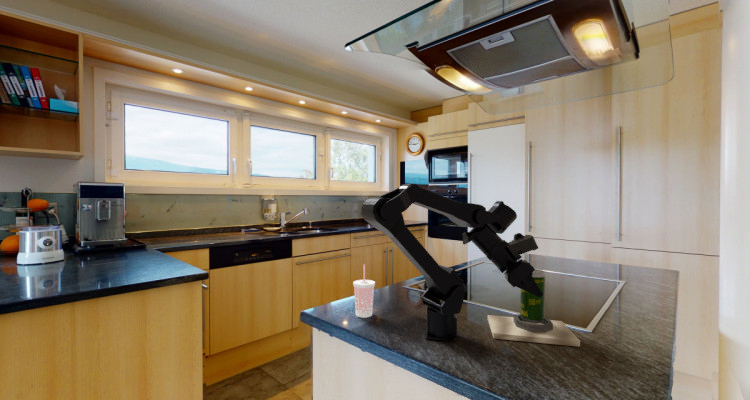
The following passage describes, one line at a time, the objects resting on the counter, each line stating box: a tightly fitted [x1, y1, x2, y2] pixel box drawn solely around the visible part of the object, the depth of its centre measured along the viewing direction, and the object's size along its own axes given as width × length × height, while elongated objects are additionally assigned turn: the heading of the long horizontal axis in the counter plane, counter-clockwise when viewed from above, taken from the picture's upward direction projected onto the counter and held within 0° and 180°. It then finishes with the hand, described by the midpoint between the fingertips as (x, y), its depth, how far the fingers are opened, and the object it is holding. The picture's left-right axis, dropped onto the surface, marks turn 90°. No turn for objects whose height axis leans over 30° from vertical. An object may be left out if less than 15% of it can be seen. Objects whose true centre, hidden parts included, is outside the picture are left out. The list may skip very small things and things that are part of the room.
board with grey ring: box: [487, 313, 581, 347], centre depth 79 cm, size 18×12×3 cm, turn 77°
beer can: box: [519, 268, 546, 323], centre depth 80 cm, size 5×5×12 cm
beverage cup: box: [352, 263, 376, 319], centre depth 90 cm, size 6×6×14 cm
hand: (538, 292), depth 80 cm, fingers closed on beer can, 5 cm apart
